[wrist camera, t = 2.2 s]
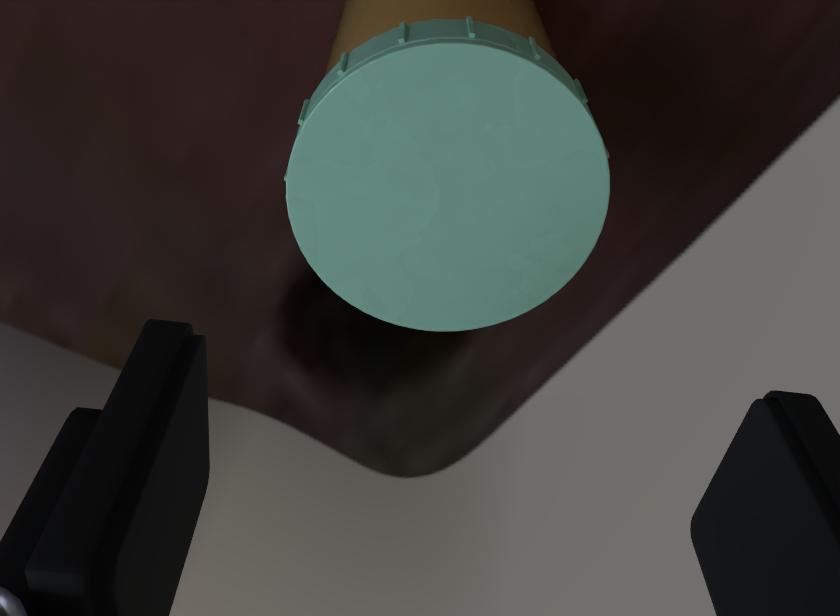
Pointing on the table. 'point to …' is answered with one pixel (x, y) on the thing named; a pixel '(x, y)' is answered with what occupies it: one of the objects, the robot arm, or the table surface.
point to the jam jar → (393, 3)
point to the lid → (447, 176)
